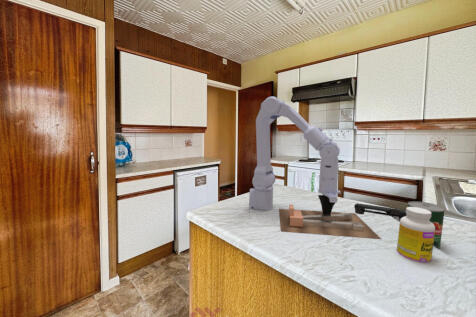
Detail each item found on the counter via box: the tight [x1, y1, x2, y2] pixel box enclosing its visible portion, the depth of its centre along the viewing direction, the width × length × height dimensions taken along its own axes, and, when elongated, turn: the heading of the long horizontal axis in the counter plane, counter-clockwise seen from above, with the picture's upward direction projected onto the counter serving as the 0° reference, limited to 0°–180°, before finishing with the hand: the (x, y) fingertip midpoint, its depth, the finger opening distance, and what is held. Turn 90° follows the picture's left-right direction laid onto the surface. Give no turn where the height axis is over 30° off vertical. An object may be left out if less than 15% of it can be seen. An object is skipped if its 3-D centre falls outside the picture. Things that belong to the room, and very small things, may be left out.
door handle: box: [353, 202, 407, 223], centre depth 79 cm, size 3×20×16 cm
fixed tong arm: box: [303, 219, 364, 231], centre depth 68 cm, size 21×2×2 cm, turn 81°
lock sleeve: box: [288, 204, 303, 227], centre depth 71 cm, size 4×7×5 cm, turn 171°
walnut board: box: [278, 208, 382, 240], centre depth 73 cm, size 28×20×2 cm
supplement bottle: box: [396, 206, 435, 263], centre depth 53 cm, size 7×7×13 cm
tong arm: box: [303, 212, 352, 221], centre depth 74 cm, size 18×2×2 cm, turn 98°
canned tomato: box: [407, 201, 446, 250], centre depth 61 cm, size 8×8×11 cm
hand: (326, 216), depth 75 cm, fingers closed
